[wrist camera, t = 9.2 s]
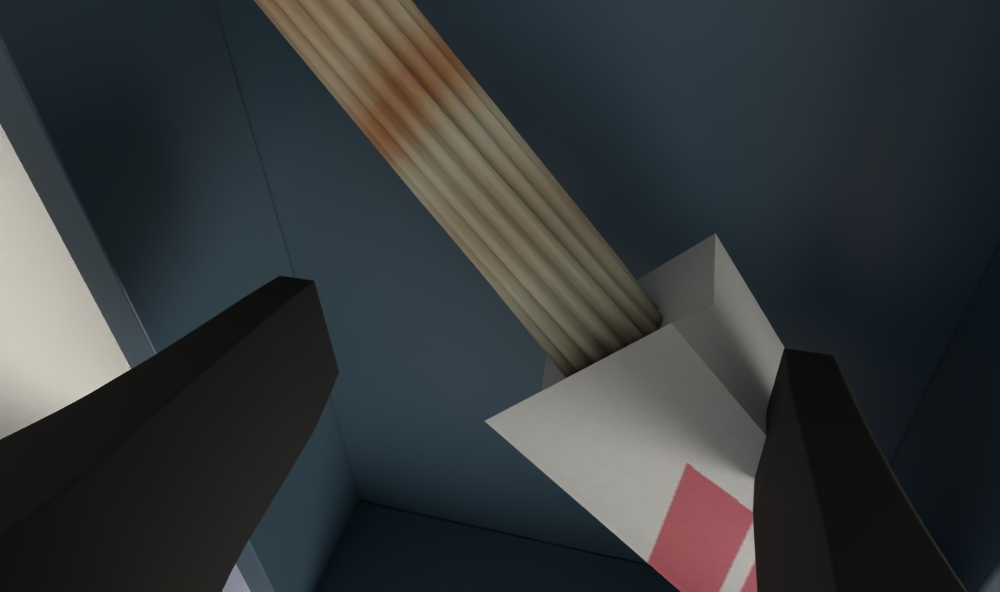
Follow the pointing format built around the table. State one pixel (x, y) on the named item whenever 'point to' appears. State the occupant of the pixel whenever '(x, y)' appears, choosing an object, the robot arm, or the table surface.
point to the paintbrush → (572, 303)
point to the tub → (599, 195)
